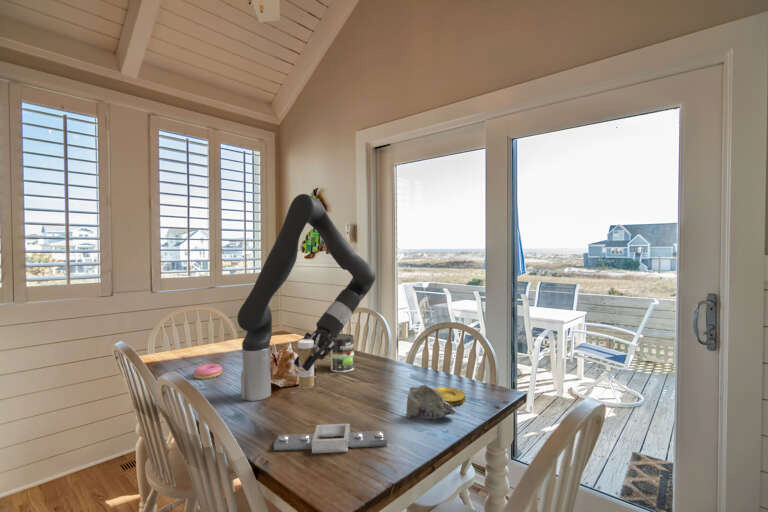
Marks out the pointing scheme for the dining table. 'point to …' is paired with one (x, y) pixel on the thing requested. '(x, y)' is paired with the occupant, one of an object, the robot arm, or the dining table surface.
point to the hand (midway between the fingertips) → (300, 367)
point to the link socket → (330, 444)
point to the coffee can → (343, 353)
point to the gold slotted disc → (452, 395)
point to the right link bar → (367, 439)
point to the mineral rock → (427, 404)
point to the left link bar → (293, 442)
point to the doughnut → (208, 371)
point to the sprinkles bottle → (304, 352)
